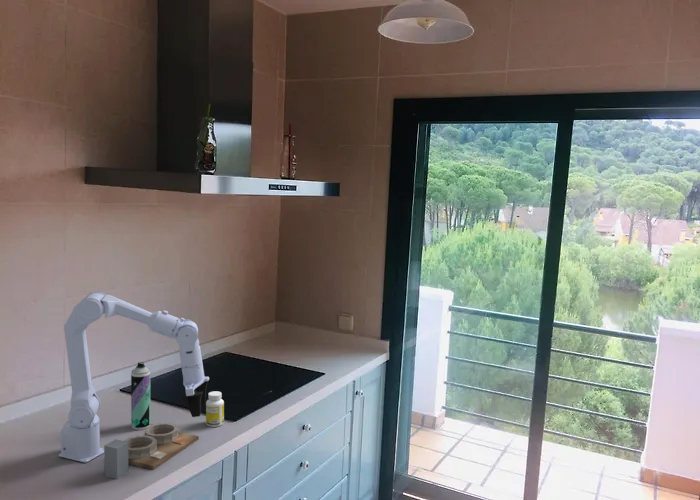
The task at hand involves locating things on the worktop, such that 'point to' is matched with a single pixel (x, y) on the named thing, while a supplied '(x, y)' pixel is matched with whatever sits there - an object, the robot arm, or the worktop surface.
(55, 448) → the worktop surface
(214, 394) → the supplement bottle
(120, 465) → the plug
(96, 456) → the robot arm
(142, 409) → the spray can
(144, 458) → the socket board
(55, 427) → the worktop surface
